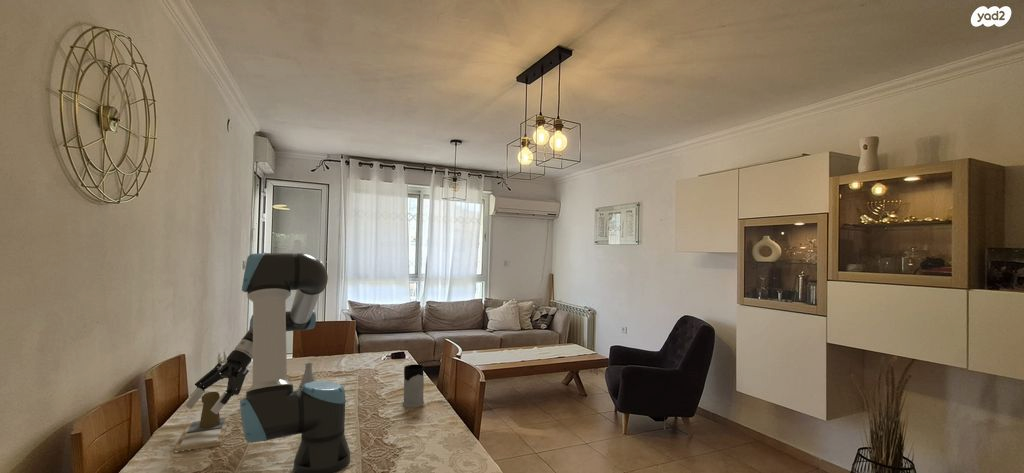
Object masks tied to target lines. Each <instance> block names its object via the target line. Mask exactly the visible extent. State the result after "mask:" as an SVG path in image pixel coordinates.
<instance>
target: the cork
mask: <svg viewBox="0 0 1024 473" xmlns="http://www.w3.org/2000/svg"><path fill="white" fill-rule="evenodd" d="M220 397H221V394H220V393H219V392H218V391H208V392H204V393H203V395H202V396H201V402H202V404H203V405H202V410H201V416H200V420H199V421H200V425H199V427H200V428H212V427H215V426H218V425H219V424H220V418H221V417H220V412H219V413H218V414H215V413H213V412H212V411H211V409H212V407H213V406H214V405H215V403H216V402H217V401H218V399H219V398H220Z"/></svg>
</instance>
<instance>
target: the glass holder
mask: <svg viewBox="0 0 1024 473" xmlns="http://www.w3.org/2000/svg"><path fill="white" fill-rule="evenodd" d="M424 368H425V367H424V365H422V364H408V365H404V367H403V401H402V402H403V403H402V406H403V407H405V408H409V409H414V407H416V408H420V407H423V406H424V405H425V401H424V389H425V387H424V384H425V383H424V382H425V380H424V379H425V377H424ZM423 404H424V405H423ZM422 405H423V406H422ZM419 406H420V407H419Z"/></svg>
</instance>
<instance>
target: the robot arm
mask: <svg viewBox="0 0 1024 473" xmlns="http://www.w3.org/2000/svg"><path fill="white" fill-rule="evenodd" d="M328 276H329V275H328V271H327V270H326V268H325V266H324V265H323V263H322V262H321V261H320V260H319V259H318V258H316V257H314V256H312V255H311V254H307V253H300V252H296V253H293V252H292V253H291V252H290V253H286V252H285V253H284V252H283V253H282V252H280V253H279V252H276V253H275V252H271V253H270V252H261V253H260V252H259V253H251V254H249V255H248V256H247V259H246V262H245V268H244V274H243V278H242V285H241V291H242V292H244V293H246V296H247V299H248V300H250V301H251V302H252V314H251V315H252V316H251V317H250V320H249V328H248V331H246V334H245V335H244V336H243V337H242V338H241V340H240V341H239V343H238V344H237V345H236V346H235V347H234V350H232V351H231V352H230V353H229V355H228V356H227V357H226V362H225V363H224V364H222V363H220V362H218V363H217V364H216V365H215V366H214V368H212V369H211V370H210V371H208V372H207V373H206V374H205V375H204V376H203V377H200V379H199V380H198V381H196V382H195V383H194V386H195V387H196V389H195V390H194V391H193V393H192V394H191V395H190V397H189V398H188V399H187V401H186V402H185V403H184V404H183V405H184V406H185V407H186V408H187V409H189V410H192V409H193V407H194V406H195V405H196V403H197V402H198V401H199V400H200V399H201V398H202V396H203V395H204V394H205V393H206V392H205V391H206V389H208V388H209V387H211V386H212V385H214V384H216V383H217V382H218V381H220V380H224V379H227V385H226V386H227V387H226V390H225V392H223V393H222V394H220V398H219V399H218V401H217V402H216V403H215V405H214V406H213V407H212V409H211V411H212V412H213V413H215V414H218V413H219V414H220V411H221V410H222V408H224V406H225V405H226V404H227V403H228V401H229V400H230V399H231V398H232V397H234V396H238V395H240V394H241V390H242V387H243V384H244V381H245V378H246V376H247V375H248V374H249V369H248V366H249V365H250V363H251V362H252V384H251V386H250V387H249V388H248V389H247V390H246V391H245V397H243V398H241V399H240V400H239V407H240V418H241V426H242V433H243V437H244V439H245V441H246V442H248V443H251V444H252V443H258V442H268V441H271V440H275V439H280V438H284V437H285V438H286V437H290V436H295V435H299V434H300V436H301V437H300V442H299V445H298V448H297V450H296V451H297V452H296V453H295V456H294V459H293V460H294V461H293V472H294V473H338V472H340V471H341V470H343V469H344V468H347V466H348V465H349V464H350V462H351V451H350V447H349V444H348V441H347V439H346V438H347V437H346V436H345V424H346V422H345V420H346V402H347V400H346V389H345V387H344V386H343V385H342V384H341V383H338V382H334V381H328V380H326V381H325V380H316V381H313V382H309V383H305V384H304V385H303V387H301V389H300V390H294V384H293V383H292V382H291V381H289V380H288V367H287V366H288V365H287V364H288V363H287V360H288V359H287V358H288V357H287V332H294V331H297V332H298V331H307V330H312V329H314V328H315V327H316V323H317V317H316V316H317V314H316V311H315V307H316V305H317V302H318V299H319V297H320V294H321V293H322V292H324V290H325V289H326V288H327V284H328V280H329V277H328ZM292 291H295V295H294V298H293V301H292V305H291V308H290V310H289V311H286V309H287V308H286V300H287V299H288V298H289V297H291V295H292V294H291V292H292Z"/></svg>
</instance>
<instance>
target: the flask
mask: <svg viewBox="0 0 1024 473" xmlns="http://www.w3.org/2000/svg"><path fill="white" fill-rule="evenodd" d="M304 366H305V367H304V368H305V369H304V373H303V376H302V379H301V381H300V384H299V387H301V388H302V387H303V385H304V384H305V383H309V382H313V381H317V380H316V379H315V375H314V373H313V362H306V363H305V364H304Z"/></svg>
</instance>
